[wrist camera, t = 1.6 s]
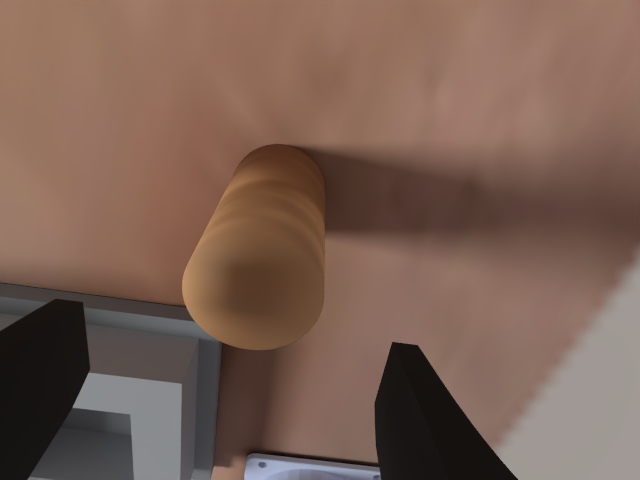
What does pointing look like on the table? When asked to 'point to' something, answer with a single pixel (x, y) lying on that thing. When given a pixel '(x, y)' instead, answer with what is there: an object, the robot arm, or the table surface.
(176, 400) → the socket stand
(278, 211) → the peg
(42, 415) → the robot arm
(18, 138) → the table surface
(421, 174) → the table surface
